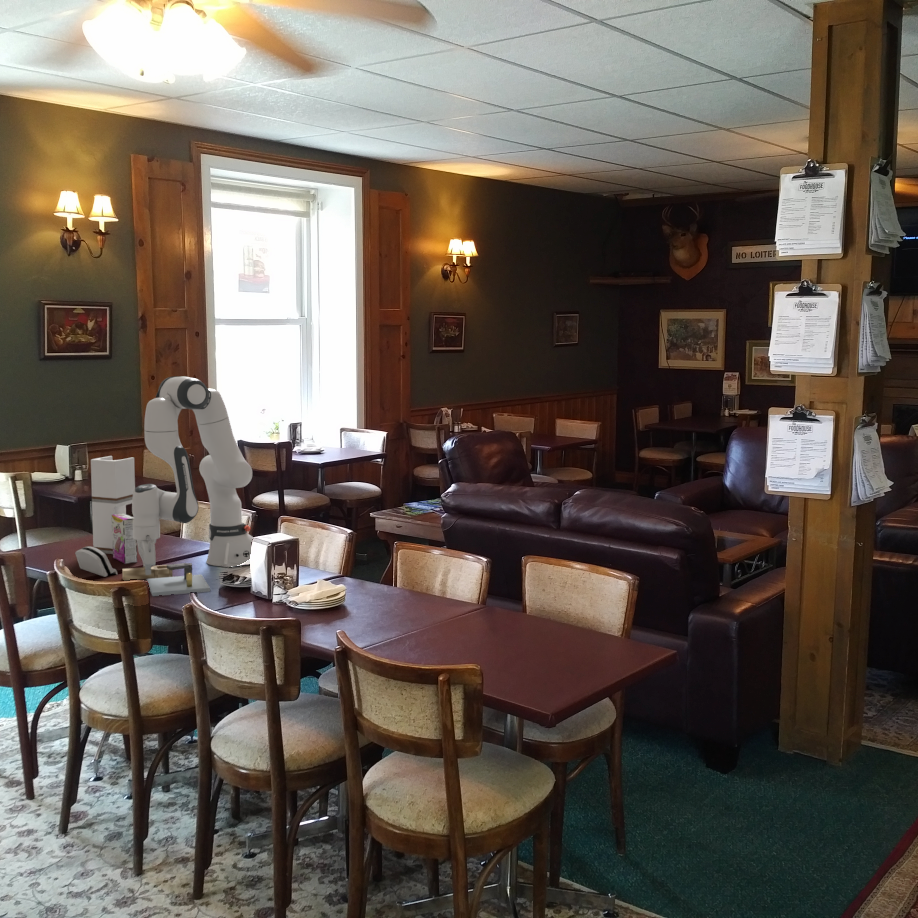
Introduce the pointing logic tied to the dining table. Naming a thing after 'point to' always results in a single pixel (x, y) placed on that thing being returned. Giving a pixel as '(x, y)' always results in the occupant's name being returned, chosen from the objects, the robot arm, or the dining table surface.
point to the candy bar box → (123, 539)
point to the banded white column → (109, 496)
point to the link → (139, 573)
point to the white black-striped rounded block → (94, 561)
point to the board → (177, 585)
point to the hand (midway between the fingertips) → (147, 572)
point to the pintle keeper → (187, 571)
